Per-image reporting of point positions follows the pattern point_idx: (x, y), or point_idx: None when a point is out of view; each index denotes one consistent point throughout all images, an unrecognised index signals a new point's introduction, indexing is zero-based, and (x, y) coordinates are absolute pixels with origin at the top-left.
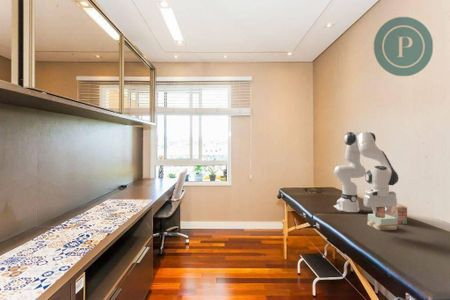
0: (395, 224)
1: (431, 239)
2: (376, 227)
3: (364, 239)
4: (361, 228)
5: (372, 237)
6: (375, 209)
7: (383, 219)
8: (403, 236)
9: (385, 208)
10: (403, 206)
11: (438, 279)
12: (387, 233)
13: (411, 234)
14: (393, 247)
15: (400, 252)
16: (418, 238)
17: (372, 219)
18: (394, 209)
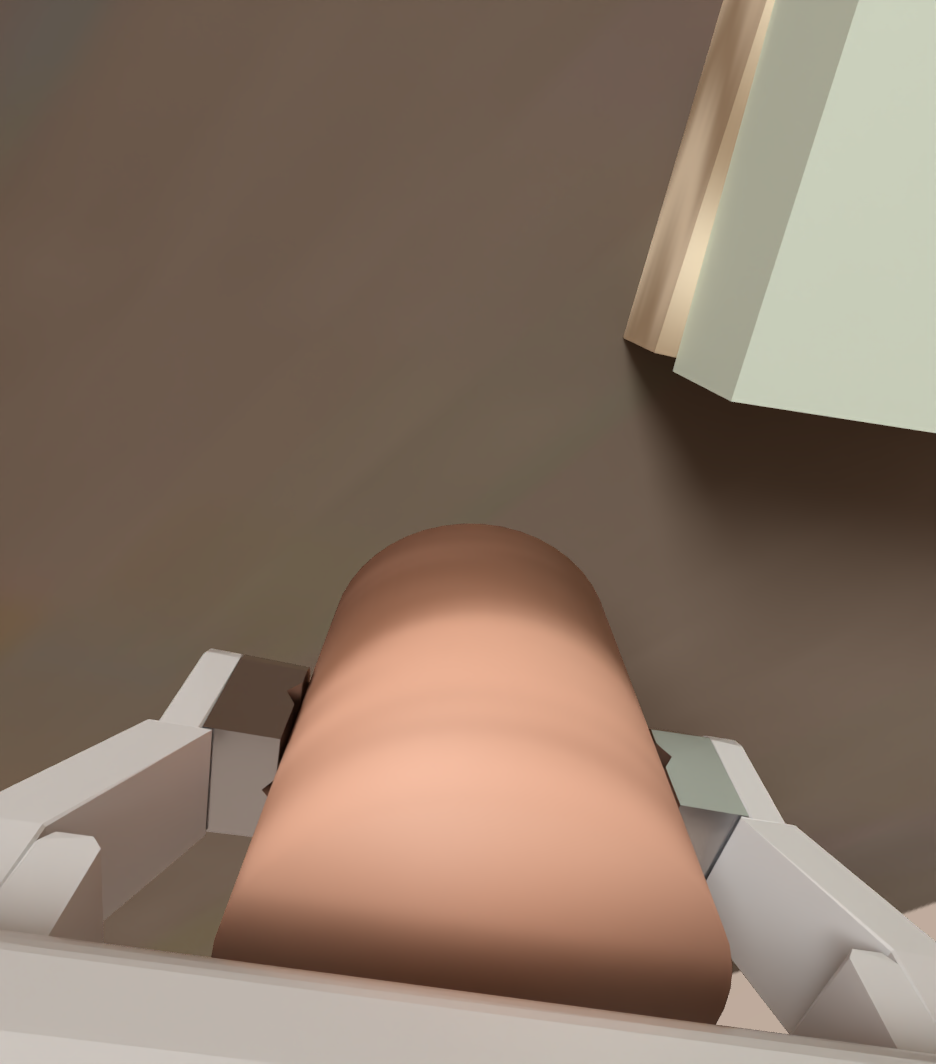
0: None
1: (913, 819)
2: (662, 236)
3: (6, 590)
4: (344, 99)
5: (194, 566)
6: (281, 771)
7: (806, 409)
8: (698, 665)
9: (807, 925)
10: None
11: None
12: (597, 508)
13: (904, 645)
14: (216, 848)
15: (187, 930)
16: (805, 762)
17: (799, 7)
18: None
